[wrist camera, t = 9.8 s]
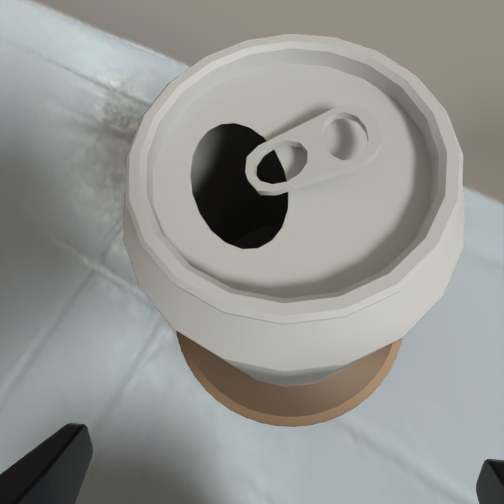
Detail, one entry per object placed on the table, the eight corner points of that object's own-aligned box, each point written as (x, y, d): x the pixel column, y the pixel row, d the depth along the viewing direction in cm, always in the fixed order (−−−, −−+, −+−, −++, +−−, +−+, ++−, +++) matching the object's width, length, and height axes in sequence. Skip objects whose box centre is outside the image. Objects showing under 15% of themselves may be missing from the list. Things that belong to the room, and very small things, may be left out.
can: (194, 253, 19) (68, 55, 8) (336, 214, 19) (402, -35, 8) (229, 408, 17) (111, 426, 5) (394, 360, 17) (610, 282, 6)
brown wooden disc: (412, 402, 20) (441, 403, 16) (202, 438, 20) (182, 446, 16) (357, 214, 24) (370, 180, 20) (183, 246, 24) (164, 218, 20)
